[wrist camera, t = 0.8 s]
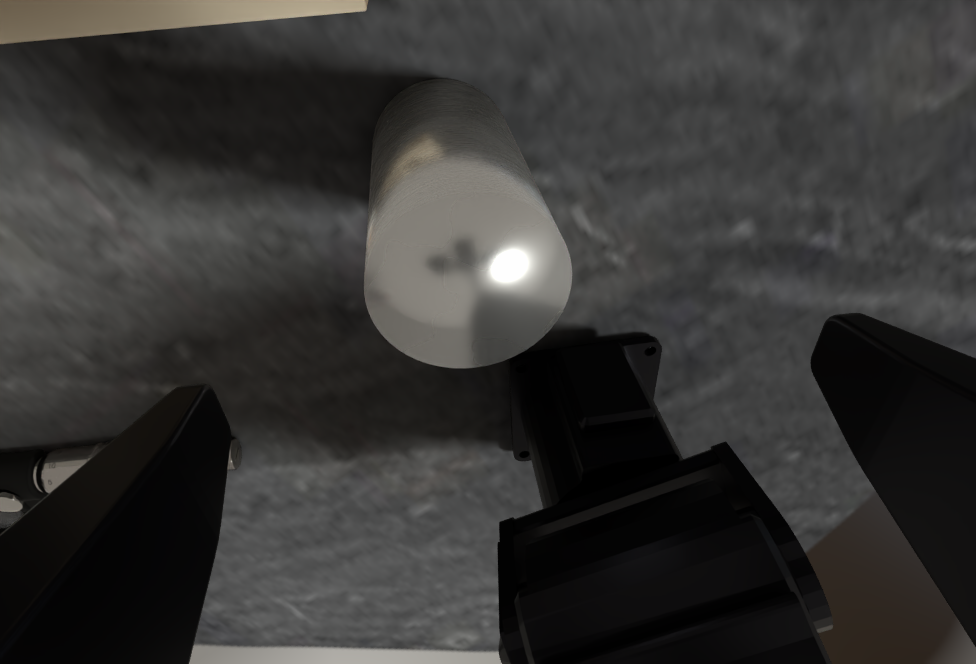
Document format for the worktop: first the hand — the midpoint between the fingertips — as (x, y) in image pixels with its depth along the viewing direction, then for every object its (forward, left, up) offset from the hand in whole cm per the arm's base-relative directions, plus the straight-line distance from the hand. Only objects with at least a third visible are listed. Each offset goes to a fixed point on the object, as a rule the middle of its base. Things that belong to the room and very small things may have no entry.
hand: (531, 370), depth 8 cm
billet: (-1, +1, -12) cm, 12 cm away
